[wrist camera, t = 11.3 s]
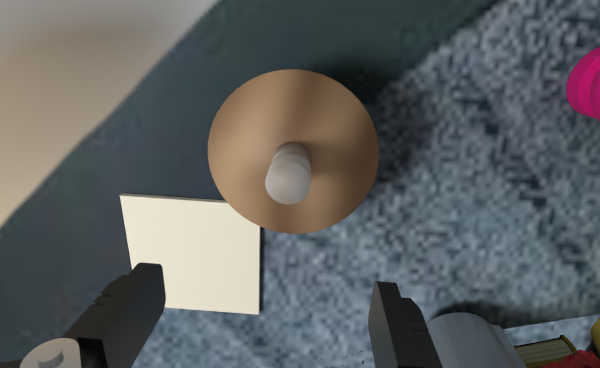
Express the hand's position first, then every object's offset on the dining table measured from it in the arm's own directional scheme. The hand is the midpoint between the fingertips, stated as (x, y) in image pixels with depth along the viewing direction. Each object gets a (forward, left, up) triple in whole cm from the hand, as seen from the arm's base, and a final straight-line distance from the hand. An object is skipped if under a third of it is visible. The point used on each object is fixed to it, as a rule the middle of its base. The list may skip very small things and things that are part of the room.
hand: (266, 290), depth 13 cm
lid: (0, 0, -16) cm, 16 cm away
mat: (+11, +15, -22) cm, 29 cm away
